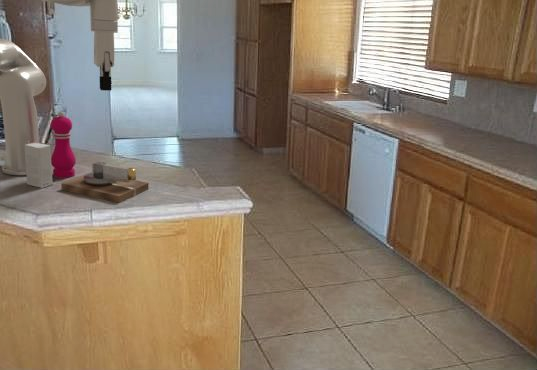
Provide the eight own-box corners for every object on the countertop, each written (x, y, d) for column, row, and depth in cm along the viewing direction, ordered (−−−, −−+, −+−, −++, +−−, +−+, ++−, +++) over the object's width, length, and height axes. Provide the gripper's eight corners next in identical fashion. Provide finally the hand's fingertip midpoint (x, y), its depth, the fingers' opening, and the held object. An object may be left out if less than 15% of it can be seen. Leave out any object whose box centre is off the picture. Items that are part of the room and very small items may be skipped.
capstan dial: (77, 182, 150) (76, 165, 148) (95, 174, 158) (95, 157, 156) (127, 192, 145) (126, 173, 144) (143, 183, 154) (143, 166, 152)
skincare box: (53, 184, 153) (51, 145, 149) (41, 188, 149) (39, 148, 146) (38, 180, 155) (35, 141, 152) (26, 184, 152) (23, 144, 148)
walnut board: (61, 189, 150) (61, 182, 149) (94, 177, 162) (93, 171, 161) (119, 202, 143) (119, 195, 142) (148, 189, 156) (148, 182, 155)
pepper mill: (68, 179, 158) (65, 114, 152) (46, 176, 160) (42, 112, 153) (80, 173, 165) (78, 111, 159) (60, 170, 166) (57, 108, 160)
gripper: (88, 24, 156) (90, 86, 162) (93, 27, 143) (95, 93, 149) (114, 26, 159) (115, 86, 165) (121, 28, 146) (122, 94, 152)
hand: (105, 89), depth 157 cm, fingers closed
